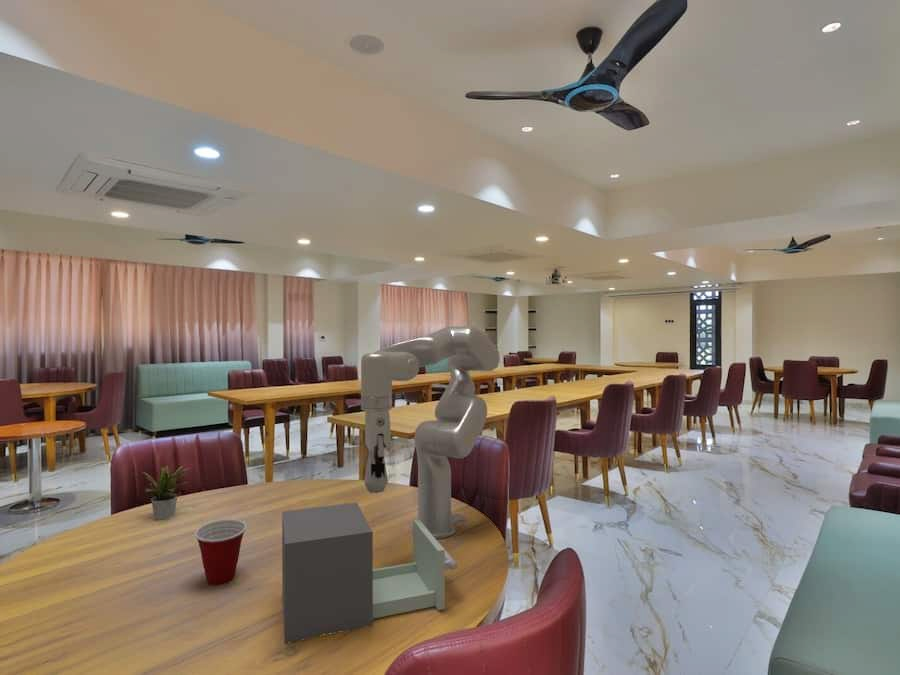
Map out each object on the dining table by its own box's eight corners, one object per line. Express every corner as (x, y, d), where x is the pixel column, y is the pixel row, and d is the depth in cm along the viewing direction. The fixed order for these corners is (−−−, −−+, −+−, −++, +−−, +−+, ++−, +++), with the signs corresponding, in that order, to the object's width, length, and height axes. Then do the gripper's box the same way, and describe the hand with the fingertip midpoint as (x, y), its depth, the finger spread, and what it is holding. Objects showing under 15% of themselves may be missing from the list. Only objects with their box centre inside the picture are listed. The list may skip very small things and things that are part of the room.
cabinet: (356, 582, 110) (356, 502, 110) (372, 625, 93) (372, 531, 93) (282, 595, 104) (282, 511, 105) (284, 643, 88) (284, 543, 88)
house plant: (203, 515, 152) (203, 463, 153) (157, 529, 141) (157, 473, 141) (178, 507, 160) (178, 457, 160) (132, 520, 148) (133, 466, 148)
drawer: (435, 567, 116) (435, 517, 117) (463, 605, 100) (463, 546, 100) (350, 581, 109) (350, 528, 110) (364, 625, 93) (364, 562, 93)
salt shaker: (382, 494, 116) (383, 440, 116) (360, 493, 117) (360, 439, 117) (391, 487, 121) (391, 435, 122) (369, 486, 123) (369, 434, 123)
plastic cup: (194, 596, 104) (194, 540, 104) (194, 575, 113) (194, 523, 113) (248, 584, 109) (248, 531, 109) (244, 565, 118) (244, 516, 118)
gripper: (399, 406, 113) (398, 485, 113) (384, 399, 128) (384, 468, 128) (366, 408, 110) (366, 489, 110) (356, 400, 126) (356, 471, 126)
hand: (376, 477), depth 119 cm, fingers closed on salt shaker, 3 cm apart
